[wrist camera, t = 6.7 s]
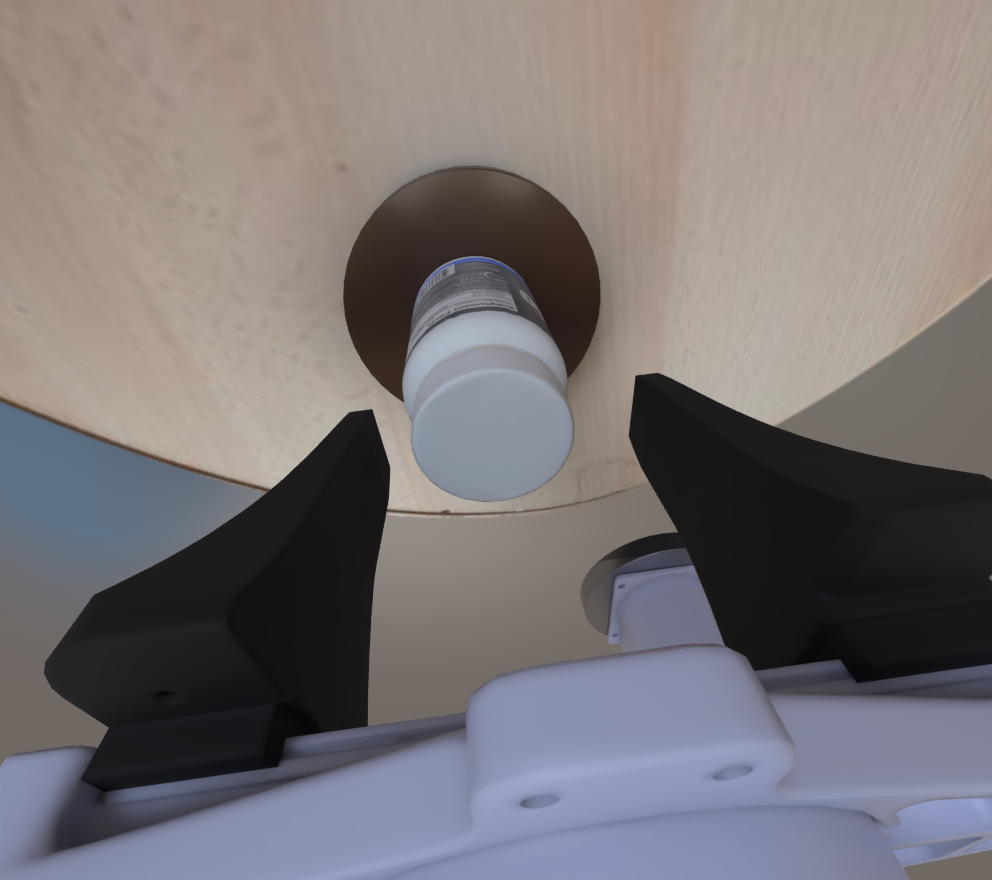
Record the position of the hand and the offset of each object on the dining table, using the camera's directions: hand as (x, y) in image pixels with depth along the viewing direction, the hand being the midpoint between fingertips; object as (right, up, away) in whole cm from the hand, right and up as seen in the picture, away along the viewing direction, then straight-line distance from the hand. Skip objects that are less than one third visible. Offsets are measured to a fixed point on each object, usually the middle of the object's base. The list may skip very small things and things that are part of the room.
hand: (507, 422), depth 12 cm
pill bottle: (-1, +5, +5) cm, 7 cm away
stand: (-1, +6, +7) cm, 9 cm away
